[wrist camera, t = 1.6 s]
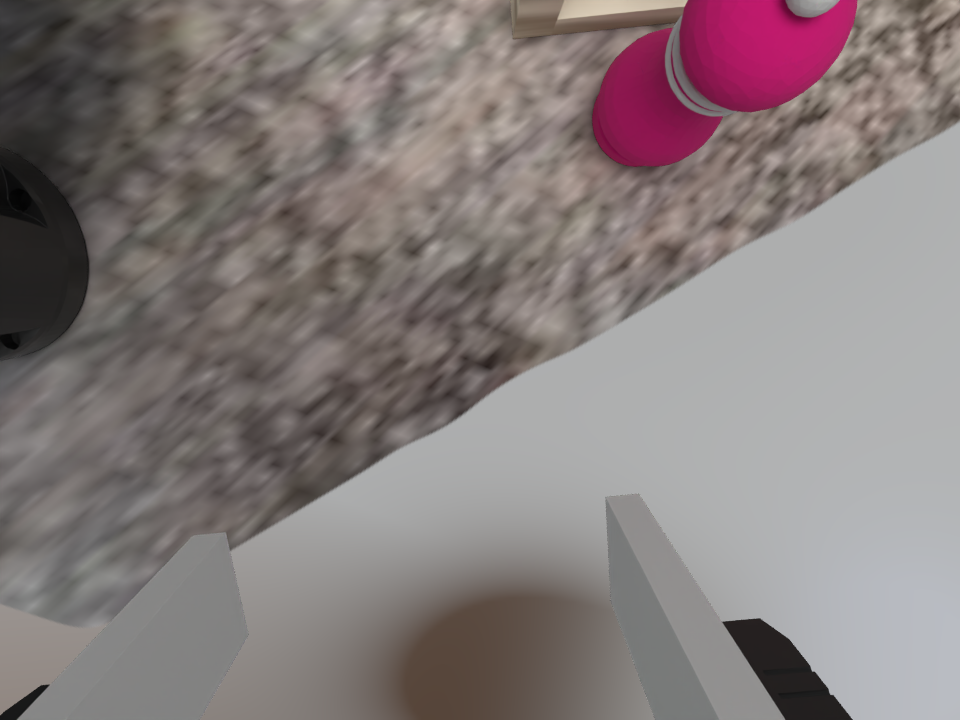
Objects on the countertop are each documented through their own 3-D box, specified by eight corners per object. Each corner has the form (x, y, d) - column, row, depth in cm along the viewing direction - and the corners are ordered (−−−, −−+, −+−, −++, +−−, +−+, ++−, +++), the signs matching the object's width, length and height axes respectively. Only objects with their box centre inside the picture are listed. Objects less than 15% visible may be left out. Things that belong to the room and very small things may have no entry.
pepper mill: (629, 34, 35) (829, -230, 15) (713, 103, 36) (1004, -62, 16) (562, 132, 36) (668, 3, 16) (646, 196, 37) (838, 146, 17)
